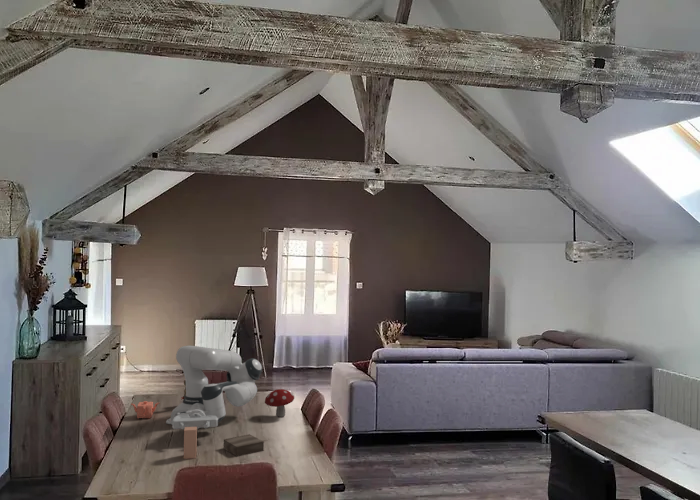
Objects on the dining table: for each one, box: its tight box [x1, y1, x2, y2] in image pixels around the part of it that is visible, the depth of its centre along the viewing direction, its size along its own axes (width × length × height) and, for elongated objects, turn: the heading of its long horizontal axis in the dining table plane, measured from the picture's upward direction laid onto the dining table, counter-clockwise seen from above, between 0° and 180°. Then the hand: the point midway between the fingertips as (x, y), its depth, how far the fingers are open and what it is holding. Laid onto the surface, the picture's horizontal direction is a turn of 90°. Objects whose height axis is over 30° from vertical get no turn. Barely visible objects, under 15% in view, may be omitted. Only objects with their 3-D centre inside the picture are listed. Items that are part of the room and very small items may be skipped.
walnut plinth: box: [223, 433, 265, 457], centre depth 267 cm, size 13×13×4 cm
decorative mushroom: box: [264, 388, 295, 417], centre depth 320 cm, size 16×16×15 cm
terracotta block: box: [183, 427, 198, 460], centre depth 256 cm, size 5×5×12 cm
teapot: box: [130, 400, 160, 419], centre depth 316 cm, size 12×15×8 cm
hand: (194, 427), depth 268 cm, fingers open, 8 cm apart
